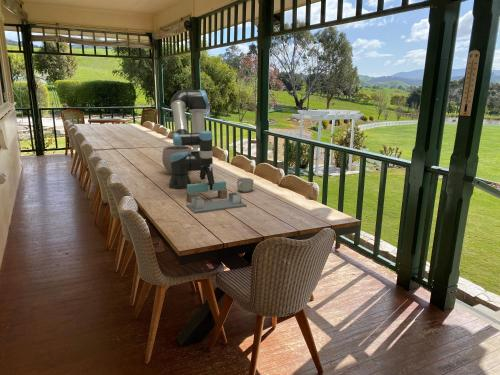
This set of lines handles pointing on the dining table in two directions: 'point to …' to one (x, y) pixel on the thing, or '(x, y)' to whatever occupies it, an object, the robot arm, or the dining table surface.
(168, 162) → the plant pot
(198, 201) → the end caps
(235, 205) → the cap board
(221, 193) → the block
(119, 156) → the dining table surface
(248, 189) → the teacup
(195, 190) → the slat
